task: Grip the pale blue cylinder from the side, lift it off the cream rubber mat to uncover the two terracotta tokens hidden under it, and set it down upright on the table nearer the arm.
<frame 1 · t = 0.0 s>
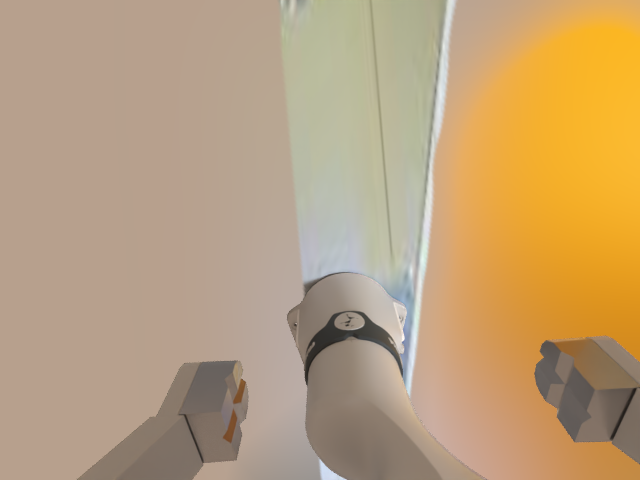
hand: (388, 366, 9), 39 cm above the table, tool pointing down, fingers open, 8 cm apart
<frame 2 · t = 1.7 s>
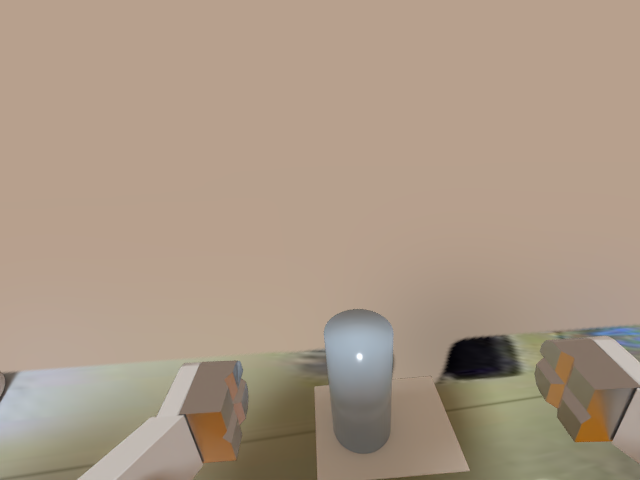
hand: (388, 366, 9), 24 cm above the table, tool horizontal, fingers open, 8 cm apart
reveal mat: (381, 425, 33), on the table
pale blue cylinder: (361, 424, 33), resting on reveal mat
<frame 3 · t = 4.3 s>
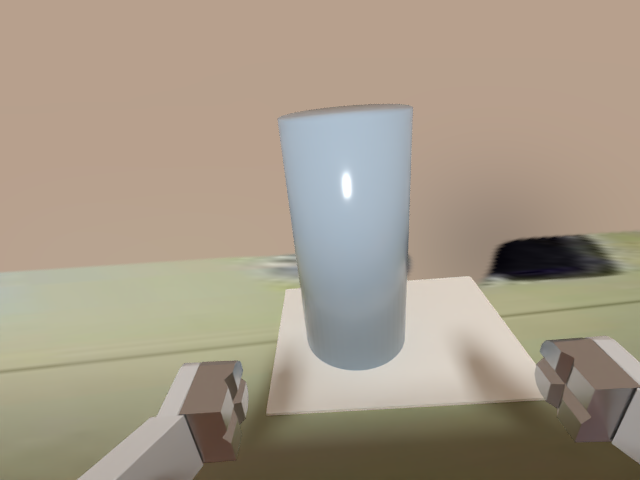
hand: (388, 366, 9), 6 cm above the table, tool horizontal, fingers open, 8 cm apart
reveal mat: (389, 336, 20), on the table
pale blue cylinder: (355, 332, 19), resting on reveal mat
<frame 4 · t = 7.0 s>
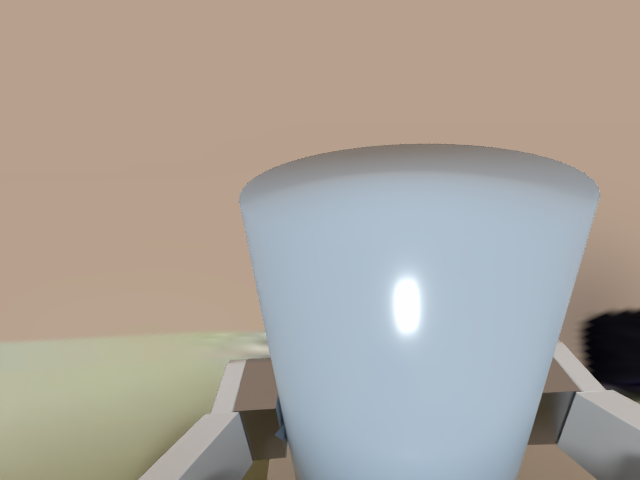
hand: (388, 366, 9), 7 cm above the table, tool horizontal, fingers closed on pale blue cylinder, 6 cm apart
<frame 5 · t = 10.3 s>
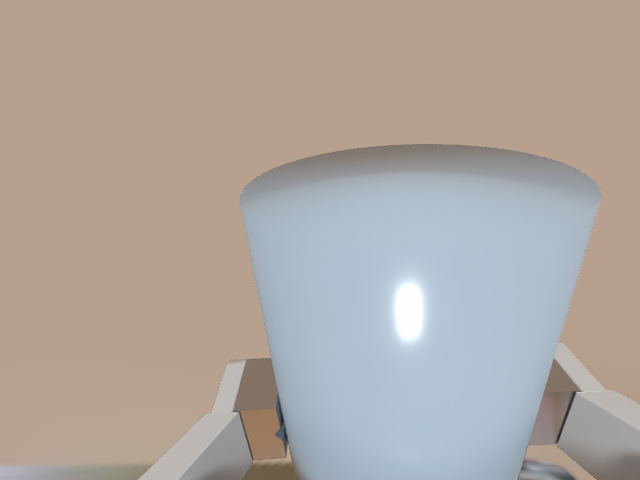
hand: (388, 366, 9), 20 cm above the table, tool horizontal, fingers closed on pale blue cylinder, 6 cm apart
when the fingers open (8 cm above the table, at t = 13.6 s): pale blue cylinder drops 2 cm, on the table.
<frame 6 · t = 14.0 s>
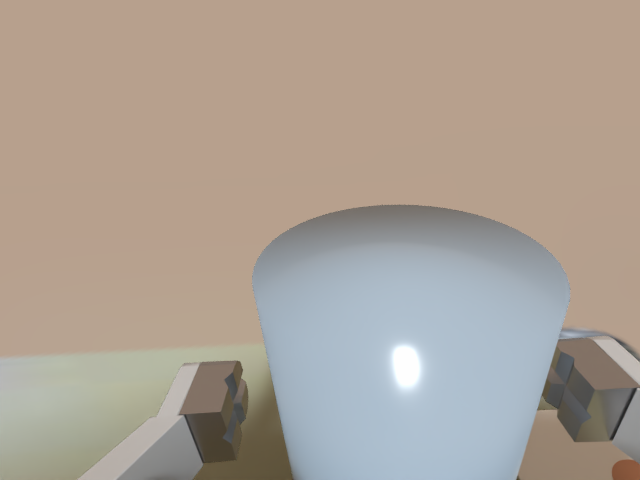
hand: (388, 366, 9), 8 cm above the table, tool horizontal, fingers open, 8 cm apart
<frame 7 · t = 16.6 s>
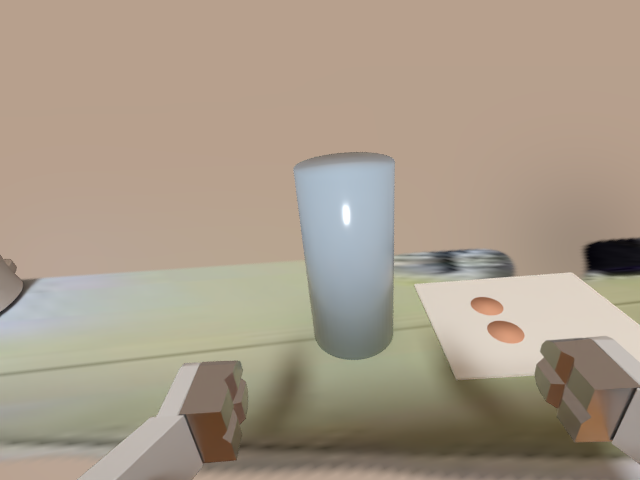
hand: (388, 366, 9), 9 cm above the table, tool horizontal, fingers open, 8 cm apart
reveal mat: (523, 321, 24), on the table
pale blue cylinder: (353, 329, 24), on the table
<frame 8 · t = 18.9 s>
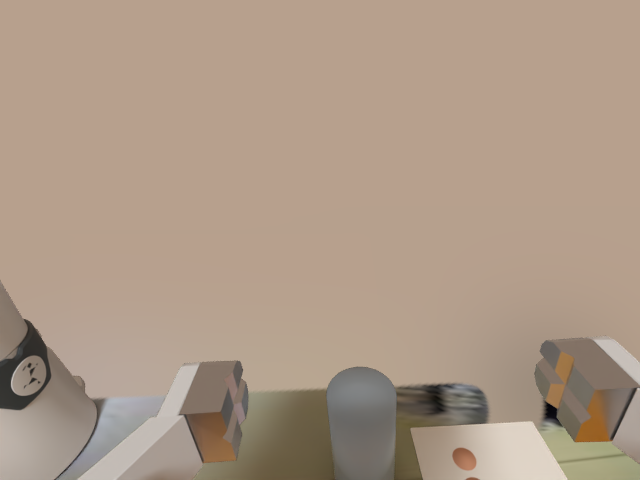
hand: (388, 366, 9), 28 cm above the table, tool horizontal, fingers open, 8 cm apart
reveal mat: (490, 475, 32), on the table
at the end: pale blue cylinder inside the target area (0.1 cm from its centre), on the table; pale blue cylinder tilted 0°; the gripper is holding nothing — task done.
